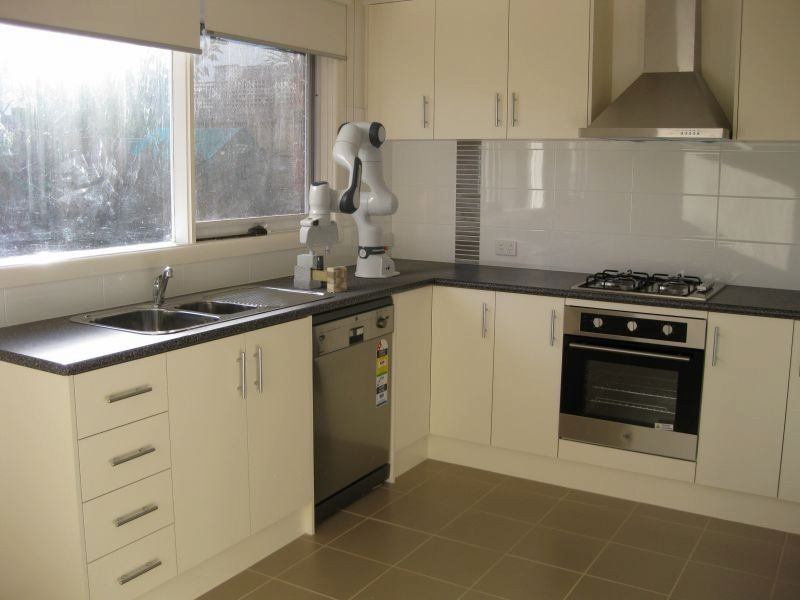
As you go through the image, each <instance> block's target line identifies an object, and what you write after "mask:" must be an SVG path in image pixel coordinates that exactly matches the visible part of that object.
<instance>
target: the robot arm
mask: <svg viewBox="0 0 800 600" xmlns="http://www.w3.org/2000/svg"><path fill="white" fill-rule="evenodd" d="M385 140H386V128H385V126H384V125H383V123H381V122H377V121H363V120H362V121H361V120H360V121H354V122H350V121H349V122H343V123H341V124H340V125H339V127H338V129H337V136H336V138H335V141H334V144H333V148H332V150H331V151H332V152H331V156H332V160H333V161H334V163H335V164H336V165H337V166H339V168H341V169H343V170H346V171H348V172H349V178H348V183H347V184H348V186H347V187H346V188H345V189H333V188H332V187H330V183H329V182H328V181H326V180H325V181H324V180H323V181H322V180H321V181H320V180H319V181H314V182H312V183H310V186H309V192H308V193H309V195H308V196H309V197H308V204H309V211H308V216H307V217H304V219H301V220H300V222H299V225H300V226H301V227H300V229H299V242H300V244H301V245H305V246H306V248H307V250H308V252H309V253H308V254H309V255H315V254H316V252H315V250H314V245H319V244H325V245H326V248H325V249H324V254H325V255H326V254H327V255H329V254H331V249H332V247H333V243H338V242H339V240H340V239H339V238H340V237H339V234H340V233H339V227H338V223H337V221H336V220H331V217H332V215H331V213H333V214H334V213H335V214H346V215H347V214H348V215H350V216H351V218H352V219H353V220H354V222H355V224H356V226H357V231H358V232H357V233H358V245H357V253H358V256H357V259H356V269H355V272H354V275H355V277H359V278H368V279H370V278H372V279H373V278H374V279H375V278H380V279H381V278H382V279H383V278H391V277H393V276H398V275H400V274H401V272H400V271H396V269H395V268H396V267H395V266H396V264H395V262H394V260H392V259H391V258H390V256H389V255H387V254H386V251H389V246H388V245H387V246H386V245H385V246H384V244H383V242H384V237H383V236H384V235H383V234H384V233H383V232H384V231H383V228H382V227H381V226H380V225H378V224H377V223H376V222H374V221H373V220H372V217H386V216H387V217H388V216H391V215H395V214H396V212H397V211H398V209H399V200H398V197H397V195H395V193H393V192H392V191H391V190H390V189H389V188H388V186H387V184H386V181H385V180H384V179H385V178H384V172H383V171H384V170H383V169H384V168H383V151H382V145H383V143H384V142H385ZM362 183H363V184H366V185H367V186H368V188H369V189H370V191H361V185H362Z"/></svg>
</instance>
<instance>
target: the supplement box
mask: <svg viewBox="0 0 800 600" xmlns="http://www.w3.org/2000/svg"><path fill="white" fill-rule="evenodd" d="M317 256H319V255H318V254H316V253H315V255H309V253H302V254H298V255H296V259H297V260H296V261H297V263H296V264H297V265H296V266H298V265H313V266H317Z"/></svg>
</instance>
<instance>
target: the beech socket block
mask: <svg viewBox="0 0 800 600" xmlns="http://www.w3.org/2000/svg"><path fill="white" fill-rule="evenodd" d="M326 270H327V281H326V284H327V285H326V291H327V293H331V292H333V293H332V294H335V292H336V293H340V292H341V293H342V292H345V291H347V289H348V288H347V283H348V282H347V274H348V273H347V272H348V271H347V266H344V265H337V266H331V267H326Z"/></svg>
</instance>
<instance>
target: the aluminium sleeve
mask: <svg viewBox="0 0 800 600" xmlns="http://www.w3.org/2000/svg"><path fill="white" fill-rule="evenodd" d="M293 267H294V269H293V270H294V278H293V287H294V288H296V289H303V290H305V289H306V290H313V289H320V288H322V281H320V280H312V279H311V269H317V266H313V265H298V266H297V265H294V266H293Z"/></svg>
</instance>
